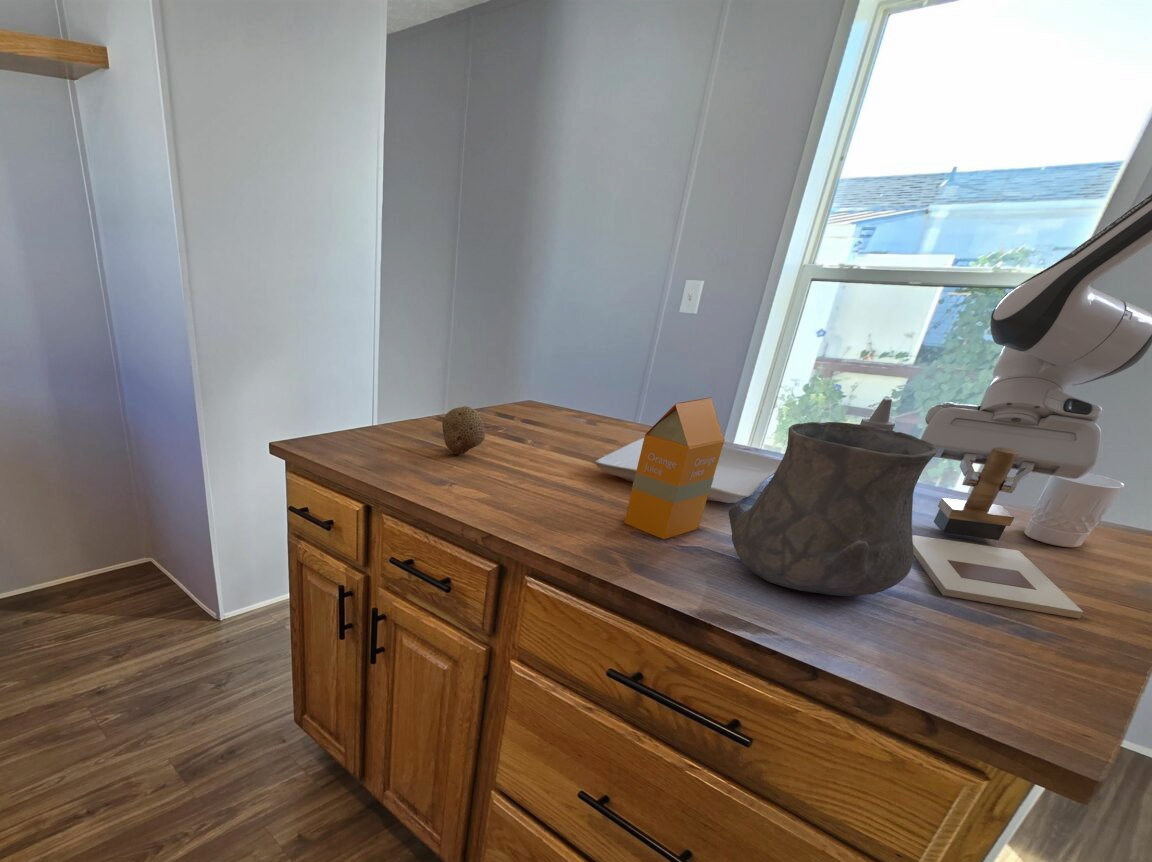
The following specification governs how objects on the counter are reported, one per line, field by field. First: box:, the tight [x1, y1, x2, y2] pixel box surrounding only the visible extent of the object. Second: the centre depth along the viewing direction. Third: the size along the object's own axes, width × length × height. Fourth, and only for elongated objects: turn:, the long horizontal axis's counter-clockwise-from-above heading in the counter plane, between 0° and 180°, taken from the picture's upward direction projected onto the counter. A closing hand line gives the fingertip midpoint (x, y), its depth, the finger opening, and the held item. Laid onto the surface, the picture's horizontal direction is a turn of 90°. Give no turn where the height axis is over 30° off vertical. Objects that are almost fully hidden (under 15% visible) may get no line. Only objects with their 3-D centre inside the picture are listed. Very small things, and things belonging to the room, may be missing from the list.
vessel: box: [727, 421, 937, 597], centre depth 86 cm, size 22×22×20 cm
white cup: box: [1023, 472, 1126, 548], centre depth 101 cm, size 8×8×10 cm
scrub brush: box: [933, 448, 1019, 541], centre depth 101 cm, size 8×6×13 cm
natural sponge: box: [441, 405, 487, 456], centre depth 136 cm, size 9×9×10 cm
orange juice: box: [623, 396, 726, 540], centre depth 101 cm, size 8×9×20 cm
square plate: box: [593, 437, 782, 504], centre depth 126 cm, size 27×27×4 cm
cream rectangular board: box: [912, 534, 1084, 619], centre depth 92 cm, size 14×20×1 cm
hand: (987, 487), depth 100 cm, fingers closed on scrub brush, 3 cm apart
